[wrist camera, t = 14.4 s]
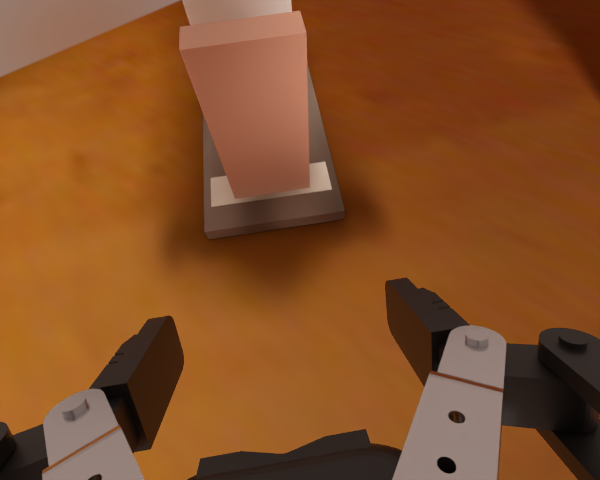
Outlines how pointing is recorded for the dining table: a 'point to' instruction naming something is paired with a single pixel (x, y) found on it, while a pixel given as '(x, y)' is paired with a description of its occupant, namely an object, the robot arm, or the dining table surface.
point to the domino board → (276, 206)
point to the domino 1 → (232, 9)
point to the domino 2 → (254, 98)
